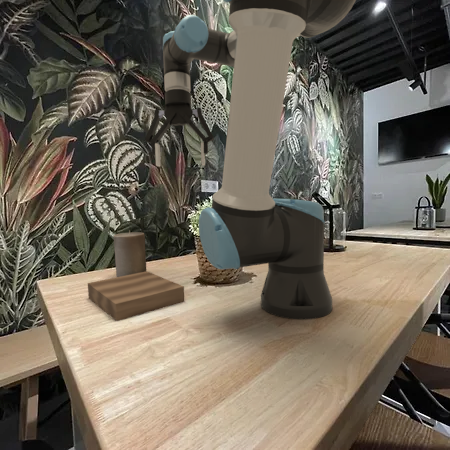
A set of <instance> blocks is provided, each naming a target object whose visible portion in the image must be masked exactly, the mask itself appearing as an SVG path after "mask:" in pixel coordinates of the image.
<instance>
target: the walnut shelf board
mask: <svg viewBox="0 0 450 450" xmlns="http://www.w3.org/2000/svg"><path fill="white" fill-rule="evenodd" d="M87 292H88V293H87V294H88V299H89V300H90V301H91V302H92V303H94V304H95V305H96V306H97V307H99V309H101V310H102V311H104V312H105V313H106V314H107V315H108V316H110V317H111V318H112V319H113V320H115V321H116V322H118V321H123V320H125V319H130V318H133V317H137V316H139V315H143V314H147V313H150V312H154V311H157V310H161V309H165V308H167V307H172V306H174V305H179V304H182V303H185V286H184V285H181V284H179V283H176V282H174V281H172V280H170V279H166V278H164V277H161V276H159V275H156V274H155V273H152V272H150V271H148V270H146V272H141V273H136V274H131V275H126V276H121V277H117V276H115V277H111V278H106V279H102V280H95V281H91V282H87Z"/></svg>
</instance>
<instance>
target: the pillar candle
mask: <svg viewBox="0 0 450 450" xmlns="http://www.w3.org/2000/svg"><path fill="white" fill-rule="evenodd" d="M145 236H146V235H145V233H144V232H140V231H139V232H138V231H135V232H133V231H132V232H131V230H130V229H129V230H128V232H122V233H116V234H114V235H113V245H114V247H113V248H114V258H115V259H114V260H115V272H116V273H115V274H116V276H115V277H121V276H126V275H131V274H136V273H141V272H146V271H147V258H146V257H147V256H146V254H147V253H146V237H145Z"/></svg>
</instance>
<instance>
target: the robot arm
mask: <svg viewBox="0 0 450 450" xmlns="http://www.w3.org/2000/svg"><path fill="white" fill-rule="evenodd" d="M356 1H357V0H223V2H224V3H227V4H228V3H229V10H228V11H229V12H228V24H229V25H230V27H231V28H232V31H231V32H223V31H220V30H217V29H212V28H208V27H207V25H206V23H205V21H204V20H203V19H201V18H200V16H198V15H195V14H189V15H186V16H184V17H183V18H182V19H181V20H180V21H179V23H178V24H177V25H176V27H175V29H174V30H173V31H172V30H171V31H169V32H168V33H165V34H164V35H163V37H162V53H163V54H162V56H163V76H164V80H163V81H164V91H165V93H164V99H165V100H164V102H165V103H164V104H165V109H164V110H163V109H161V110H159V108H155V109H154V115H153V116H154V117H153V118H152V121H151V123H150V126H149V129H148V131H147V133H146V135H145V138H144V141H146V142H147V143H149V144H151V153H152V155H153V156H155V166H156V167H158V168H159V167H161V166H162V165H161V145H160V144H159V142H160V140H161V139H162V138H163V136H164V135H165V134H166V133H167V131H168V130H169V128H171V127H172V126H175V127H176V126H178V127H179V126H182V127H183V126H186V125H189V127H190V128H191V129H192V130H193V132H194V133H195V134H197V136H198V137H199V139H201V141H202V142H201V141H200V156H201V158H200V161H201V165H202V166H206V161H205V157H206V156H205V155H207V154H209V143H210V142H212V141H214V135H213V134H212V131H211V130H210V127H209V126H208V123H206V120H205V118H204V117H203V111H202V108H201V107H197V108H196V109H193V108H192V96H191V95H192V94H191V89H192V88H191V66H190V65H191V63H192V62H193V61H194V60H199V61H203V62H208V63H214V64H218V65H222V66H228V67H232V68H233V70H232V71H233V73H232V83H231V91H230V92H231V93H230V103H229V113H228V123H227V130H226V131H227V133H226V143H225V153H224V162H223V163H224V164H223V171H222V172H223V173H222V181H221V187H220V189H218V190H217V191H215V193H213V195H212V202H211V207H210V206H209V207H208V206H207V207H206V208H203V209H201V211H200V214H199V217H198V234H199V240H200V244H201V246H202V250H203V252H204V255H205V257H206V258H207V261H208V262H209V263H210V264H211V265H212V267H214V268H216V269H219V270H230V269H233V270H239V268H246V267H252V266H257V265H259V266H260V265H265V264H268V270H267V273H266V276H265V280H264V284H263V287H262V291H261V294H260V305H261V308H262V309H263V311H265V312H267V313H269V314H271V315H275V316H277V317H281V318H285V319H290V320H312V319H319V318H322V317H326V316H327V315H329V314H330V313H331V312H332V311H333V297H332V294H331V292H330V288H329V285H328V281H327V278H326V275H325V271H324V270H325V269H324V265H325V264H324V258H325V253H324V252H325V224H326V221H325V217H324V215H325V214H324V207H323V206H322V204H320V203H319V202H316V201H312V200H311V201H310V200H306V199H305V200H304V199H291V198H273V197H272V196H271V195H270V193H269V192H270V187H271V186H270V185H271V181H272V180H271V179H272V175H273V174H272V173H273V168H274V162H275V155H276V150H277V144H278V143H277V142H278V136H279V131H280V126H281V125H280V124H281V118H282V112H283V107H284V106H283V105H284V100H285V93H286V88H287V87H286V85H287V80H288V74H289V67H290V61H291V54H292V48H293V44H294V41H295V39H296V38H299V37H302V38H312V37H315V36H317V35H320V34H322V33H325V32H327V31H329V30H331V29H332V28H334V27H335V26H337V25H338V24H340V22H342V20H344V19H345V17H346V16H347V15H348V14H349V12H351V10H352V8H353V6H354V4H355V3H356ZM193 115H194V116H195V117H196V118H198V120H199V122H200V124H201V125H202V127H203V129H204V131H205V133H206V135H207V136H205V134H204V133H202V131H201V130H200V129H199V128H198V126H196V124H195V123H194V121H193V120H191V118H193ZM164 116H165V118H166V119H165V121H164V122H163V124H162V125H161V127H160V128H159V129H158V127H159V124H160V122H161V119H162V118H163V117H164ZM157 129H158V131H157Z"/></svg>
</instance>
